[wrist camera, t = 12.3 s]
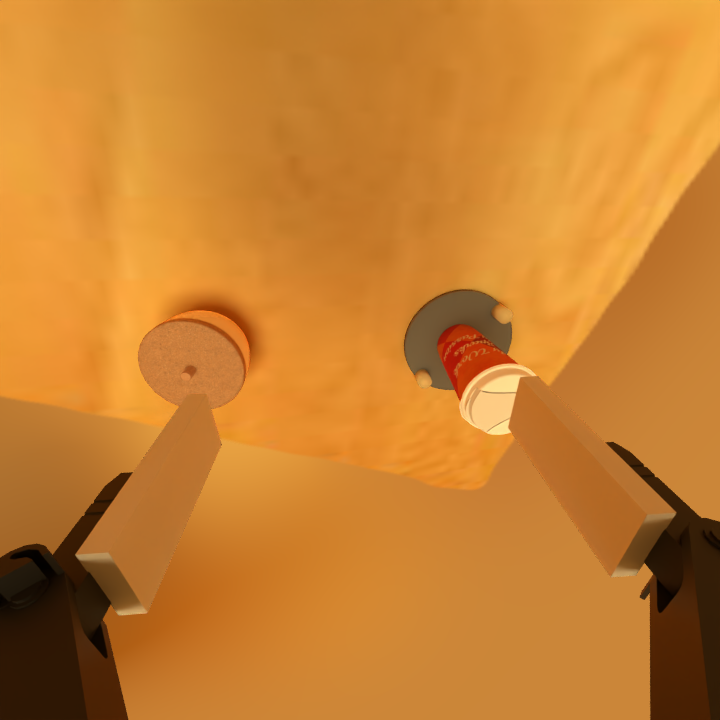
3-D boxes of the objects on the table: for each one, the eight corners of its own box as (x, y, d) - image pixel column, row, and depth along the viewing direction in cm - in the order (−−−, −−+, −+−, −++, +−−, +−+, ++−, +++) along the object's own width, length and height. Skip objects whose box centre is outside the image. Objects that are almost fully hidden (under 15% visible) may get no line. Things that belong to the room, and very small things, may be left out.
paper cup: (484, 308, 41) (547, 360, 29) (489, 361, 45) (548, 427, 32) (422, 325, 42) (459, 384, 29) (432, 376, 45) (469, 447, 33)
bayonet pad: (408, 290, 40) (412, 297, 38) (519, 289, 41) (531, 295, 39) (400, 388, 47) (404, 399, 44) (497, 385, 48) (506, 396, 45)
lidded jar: (163, 294, 39) (116, 323, 31) (257, 301, 40) (236, 331, 32) (177, 374, 44) (140, 417, 36) (261, 378, 45) (243, 421, 37)
